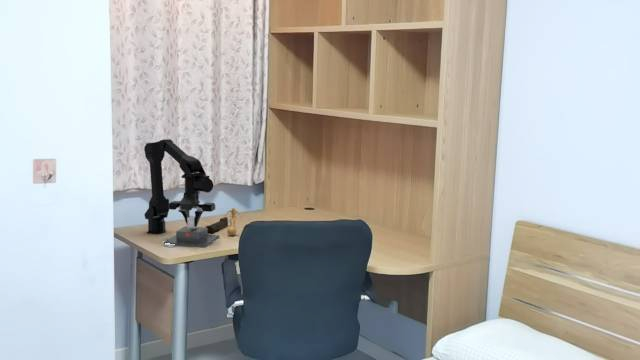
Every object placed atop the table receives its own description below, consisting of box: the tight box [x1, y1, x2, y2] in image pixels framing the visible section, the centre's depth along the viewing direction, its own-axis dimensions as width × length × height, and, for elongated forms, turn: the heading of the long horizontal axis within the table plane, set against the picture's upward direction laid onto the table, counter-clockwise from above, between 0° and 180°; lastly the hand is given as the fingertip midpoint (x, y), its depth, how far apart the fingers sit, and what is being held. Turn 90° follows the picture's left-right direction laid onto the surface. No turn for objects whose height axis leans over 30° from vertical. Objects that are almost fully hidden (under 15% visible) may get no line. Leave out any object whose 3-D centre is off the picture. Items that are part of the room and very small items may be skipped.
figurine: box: [223, 207, 243, 237], centre depth 309 cm, size 8×6×12 cm
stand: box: [163, 225, 220, 248], centre depth 297 cm, size 18×18×6 cm
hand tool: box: [205, 216, 229, 235], centre depth 320 cm, size 19×4×5 cm, turn 159°
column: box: [186, 215, 198, 231], centre depth 297 cm, size 3×3×9 cm
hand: (192, 226), depth 297 cm, fingers closed on column, 3 cm apart
